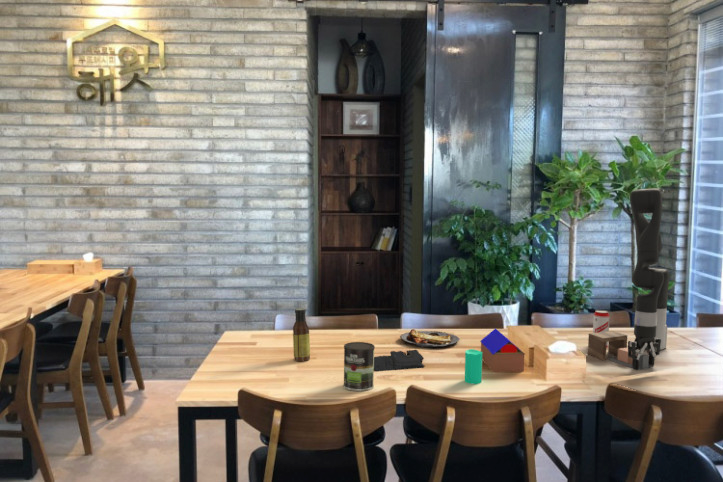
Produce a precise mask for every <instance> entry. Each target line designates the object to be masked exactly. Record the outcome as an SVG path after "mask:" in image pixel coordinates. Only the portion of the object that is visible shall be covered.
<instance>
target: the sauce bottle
mask: <svg viewBox="0 0 723 482" xmlns="http://www.w3.org/2000/svg"><path fill="white" fill-rule="evenodd" d="M306 312H307V311H306V308H303V307H299V308H297V307H296V308H295V309H294V314H295V322H294V323H293V327H292V340H293V342H292V344H293V358H294V361H297V362H299V363H300V362H307V361H309V360H310V359H311V357H310V356H311V343H310V329H309V326H308V324H307V321H306V320H307V319H306Z"/></svg>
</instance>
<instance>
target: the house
mask: <svg viewBox="0 0 723 482" xmlns="http://www.w3.org/2000/svg"><path fill="white" fill-rule="evenodd" d="M479 341H480V351H481V352H482V362H483V361H484V363H485V364H486V365H487V367H488V368H489V369H490V370H491V371H492V372H495V373H496V372H497V373H499V372H501V373H502V372H504V373H505V372H506V373H507V372H525V355H526V353H524V352H523V351H522V350H521V349H520V348H519V347H518V346H517V345H516V344H515V343H513V342H512V341H511V340H510V339H509V338H507V337H506V336H505V334H503V333H501V332H500V330H498V329H497V328H496V327H495V328H494V329H493V330H492V331H490V332H489V333H488V334H487V335H486V336H484V337H483V338H482V339H481V340H479Z"/></svg>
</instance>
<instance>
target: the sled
mask: <svg viewBox="0 0 723 482" xmlns="http://www.w3.org/2000/svg"><path fill="white" fill-rule="evenodd" d="M608 360H609V361H611V362H613V363H616V364H619V365H623V366H626V367H628V368H632V369H634V368H633V367H632V364H629V363H626V362H623V361H620V360H618V355H615V356H609V357H608ZM648 362H649V355H648V353H643V354H641V355H640V358H639V369H637V370H639V371H640V370H645V369H646V370H647V369H653V367H652V365H650V364H648Z"/></svg>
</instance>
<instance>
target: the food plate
mask: <svg viewBox="0 0 723 482" xmlns="http://www.w3.org/2000/svg"><path fill="white" fill-rule="evenodd" d="M399 337H400V339H401V340H402V341H403V342H405V343H406V342H407V343H409V344H414V345H416V346H418V347H423V348H425V347H426V348H427V347H429V348H431V347H433V348H435V347H438V348H439V347H445V346H449V345H452V344H455V343H457V342H459V341H460V340H461V339H460V337H459V336H458V335H455V334H452V333H448V332H445V331H436V330H433V331H432V330H416V329H411V330H410V331H408V332H405V333H403V334H401V335H400V336H399Z"/></svg>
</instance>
